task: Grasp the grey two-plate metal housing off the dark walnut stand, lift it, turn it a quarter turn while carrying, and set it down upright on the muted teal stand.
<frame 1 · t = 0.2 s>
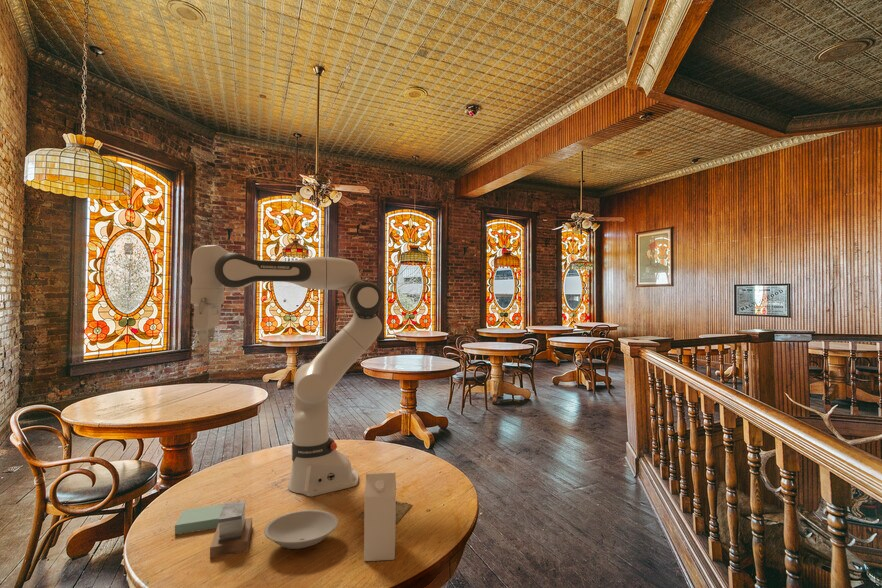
hand: (207, 343, 124), 47 cm above the table, fingers open, 8 cm apart
dish: (301, 545, 101), on the table
cookie: (385, 513, 117), on the table
stand b: (202, 523, 110), on the table
housing: (232, 531, 102), point 2 cm above the table, touching stand a
stand a: (232, 541, 102), on the table
milk carton: (380, 552, 98), on the table
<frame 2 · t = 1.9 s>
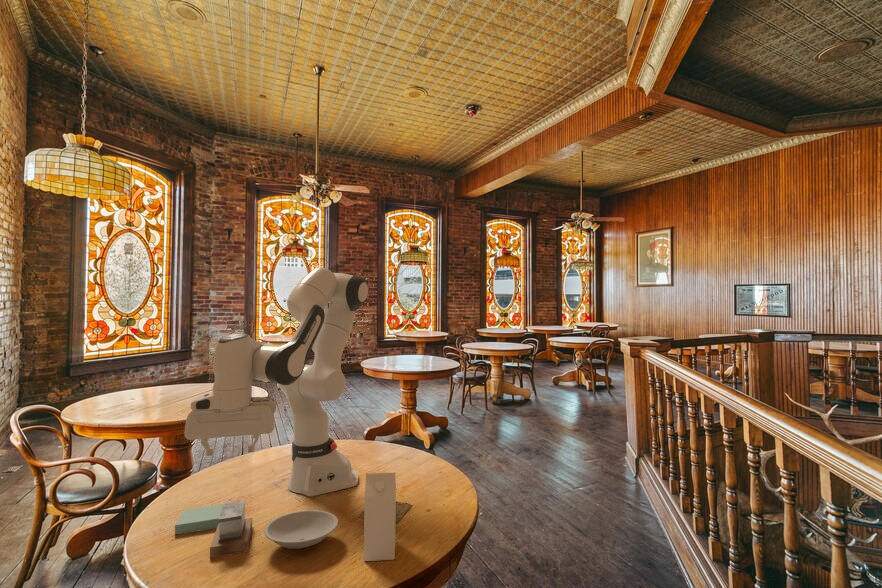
hand: (231, 453, 103), 22 cm above the table, fingers open, 8 cm apart
nothing on the table moved.
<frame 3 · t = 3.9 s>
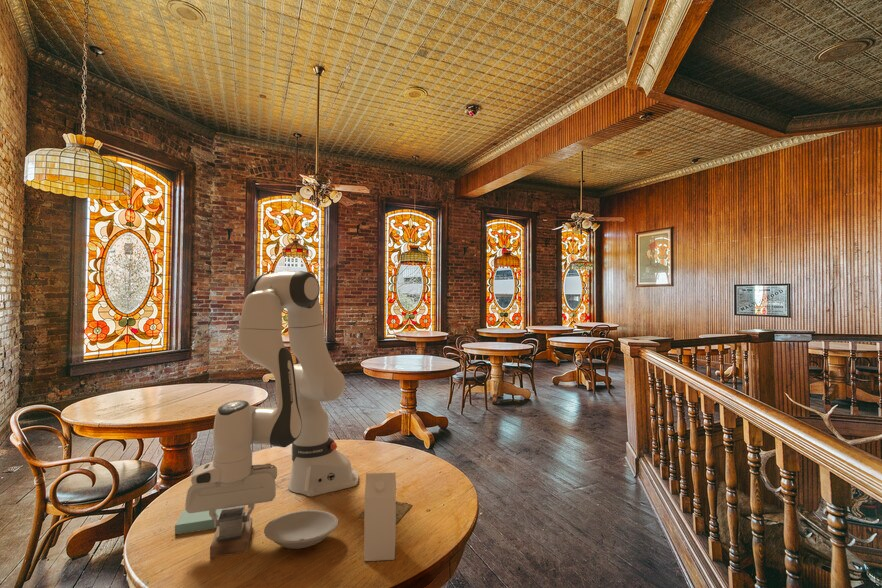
hand: (232, 523, 102), 5 cm above the table, fingers closed on housing, 5 cm apart
housing: (232, 531, 102), point 2 cm above the table, touching gripper, stand a
everything else where it was.
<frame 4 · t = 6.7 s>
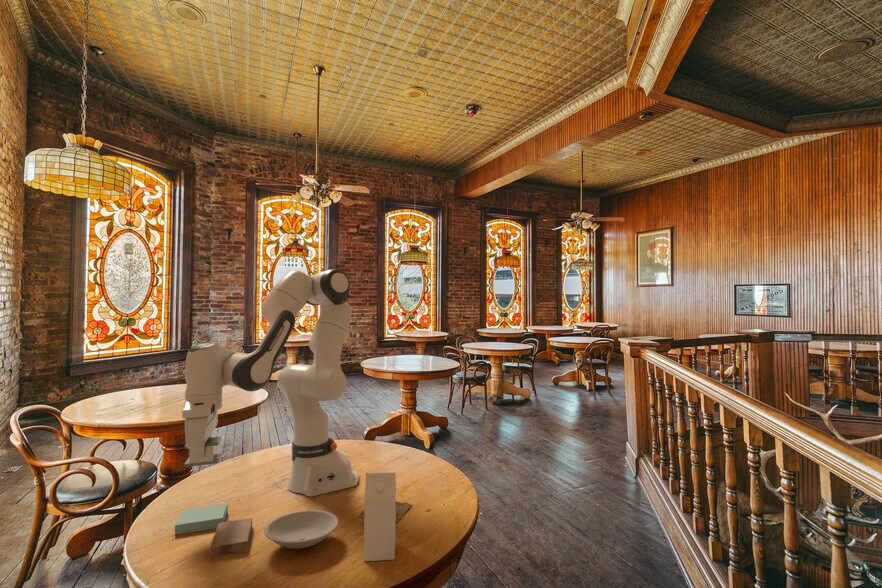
hand: (203, 453, 111), 19 cm above the table, fingers closed on housing, 5 cm apart
housing: (203, 461, 111), point 17 cm above the table, touching gripper
everything else where it was.
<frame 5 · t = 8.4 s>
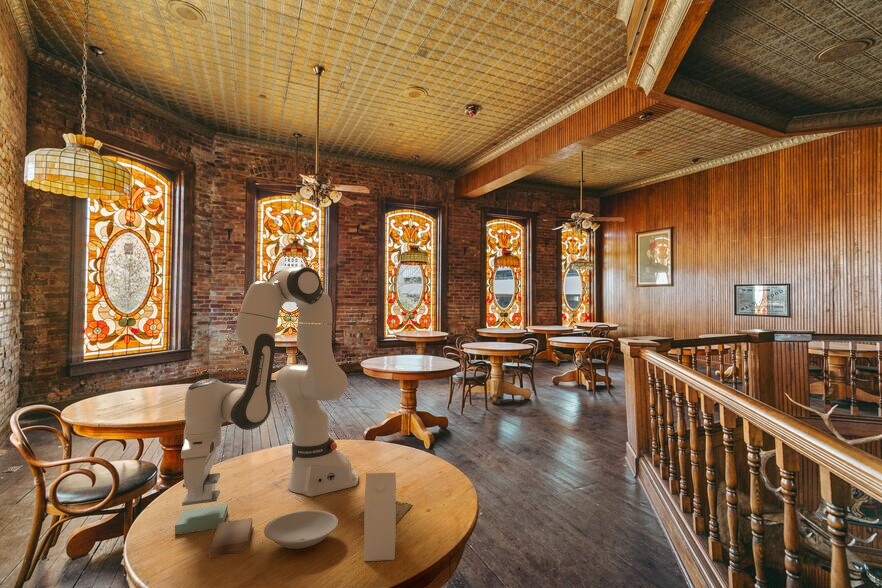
hand: (201, 491, 110), 9 cm above the table, fingers closed on housing, 5 cm apart
housing: (201, 499, 110), point 7 cm above the table, touching gripper
everything else where it was.
when the fingers open (6 cm above the table, at t = 9.5 s): housing stays where it is, resting on stand b.
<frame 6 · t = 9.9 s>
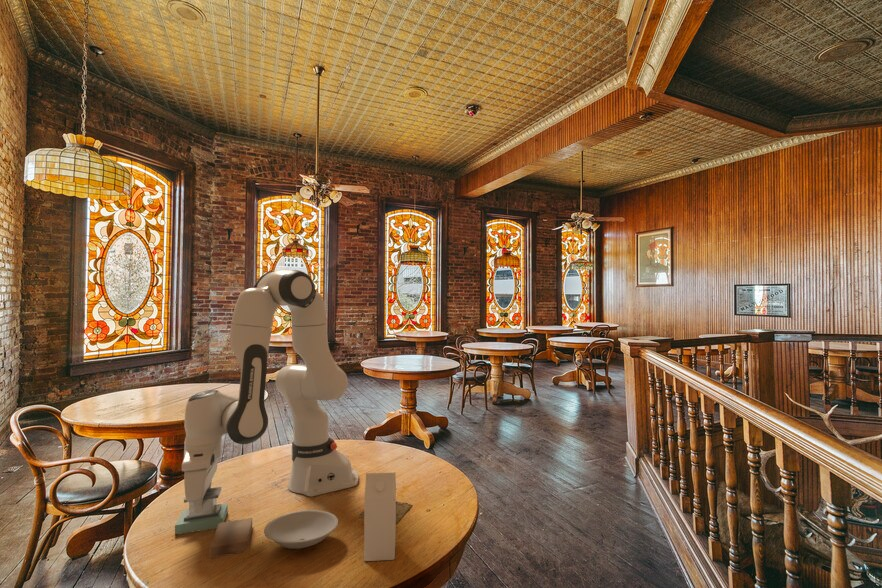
hand: (202, 502, 111), 6 cm above the table, fingers open, 8 cm apart
housing: (203, 513, 111), point 2 cm above the table, touching stand b
everything else where it was.
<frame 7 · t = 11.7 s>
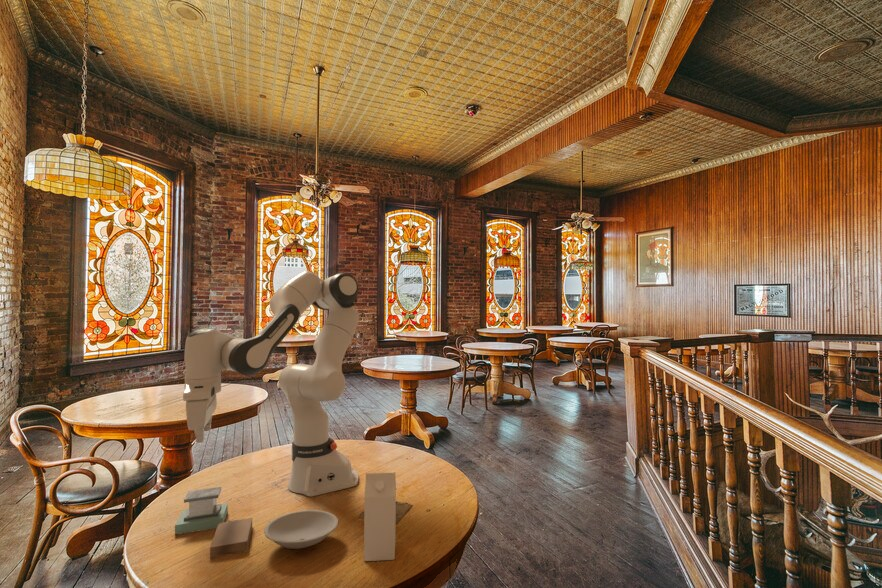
hand: (203, 435, 114), 23 cm above the table, fingers open, 8 cm apart
nothing on the table moved.
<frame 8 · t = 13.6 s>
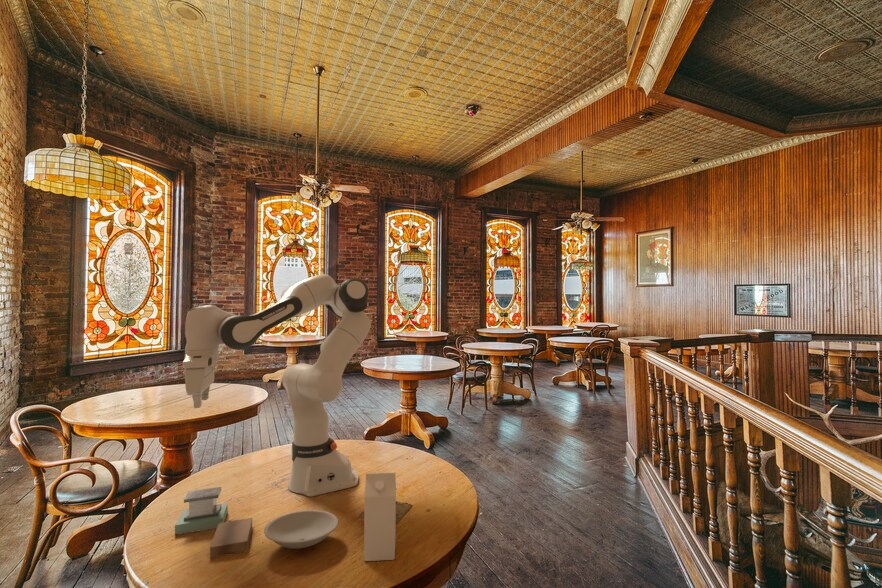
hand: (201, 403, 124), 29 cm above the table, fingers open, 8 cm apart
nothing on the table moved.
at the end: housing inside the target area on the stand b (0.1 cm from its centre), point 2.5 cm above the stand b's base; housing tilted 0°; the gripper is holding nothing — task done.
